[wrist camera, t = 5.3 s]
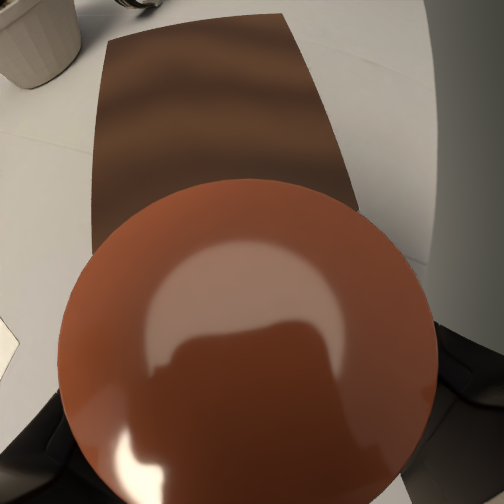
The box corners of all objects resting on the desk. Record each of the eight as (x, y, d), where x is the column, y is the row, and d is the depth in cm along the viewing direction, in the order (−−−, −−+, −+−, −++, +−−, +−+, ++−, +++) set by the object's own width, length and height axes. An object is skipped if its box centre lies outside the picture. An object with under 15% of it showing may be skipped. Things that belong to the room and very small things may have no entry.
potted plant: (-7, 78, 25) (-76, -23, 6) (82, 16, 28) (40, -102, 8) (2, 132, 23) (-104, 5, 4) (113, 53, 25) (58, -111, 6)
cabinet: (320, 252, 21) (359, 209, 13) (142, 283, 20) (91, 255, 12) (273, 84, 24) (282, 12, 17) (134, 106, 23) (107, 40, 16)
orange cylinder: (324, 377, 13) (473, 443, 3) (212, 423, 12) (155, 572, 3) (278, 269, 14) (344, 134, 4) (167, 313, 14) (20, 260, 4)
